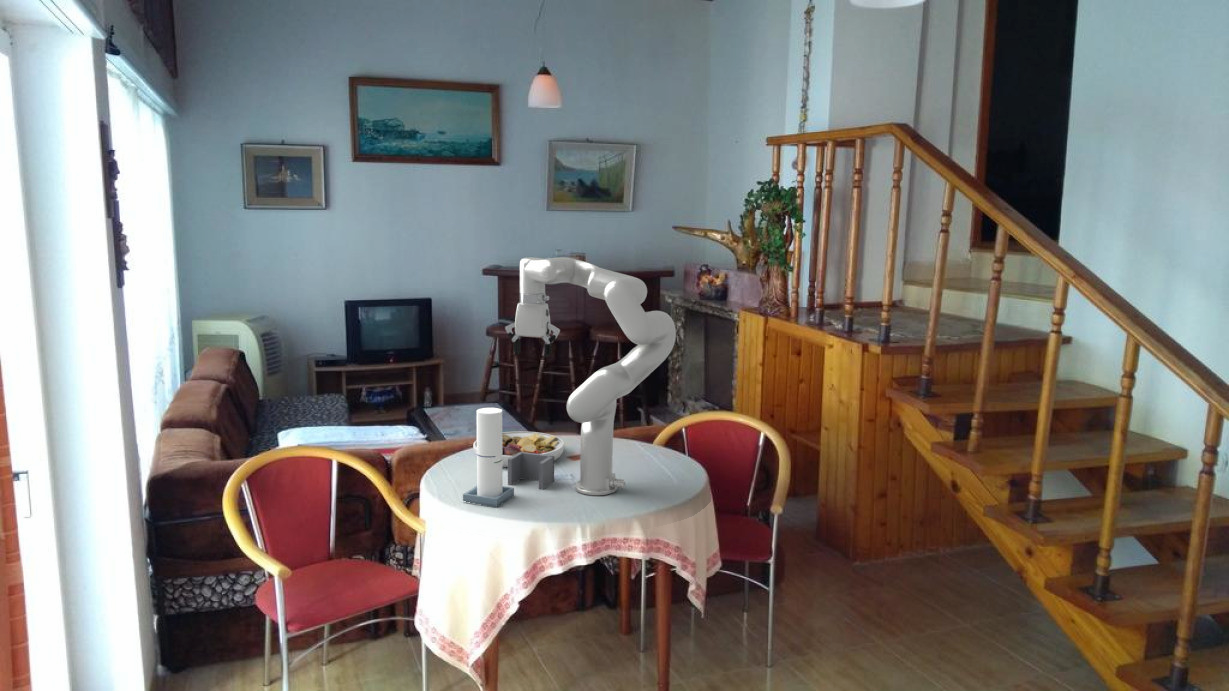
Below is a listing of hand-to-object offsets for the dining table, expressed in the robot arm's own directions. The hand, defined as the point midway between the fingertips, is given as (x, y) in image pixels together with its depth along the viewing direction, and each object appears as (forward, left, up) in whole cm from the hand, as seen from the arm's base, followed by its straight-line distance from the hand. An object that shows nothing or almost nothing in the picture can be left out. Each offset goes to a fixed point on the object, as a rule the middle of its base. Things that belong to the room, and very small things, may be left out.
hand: (532, 355), depth 253 cm
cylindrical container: (+2, +23, -38) cm, 44 cm away
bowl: (+13, -18, -39) cm, 44 cm away
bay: (-2, +6, -38) cm, 39 cm away
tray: (+3, +23, -38) cm, 45 cm away
